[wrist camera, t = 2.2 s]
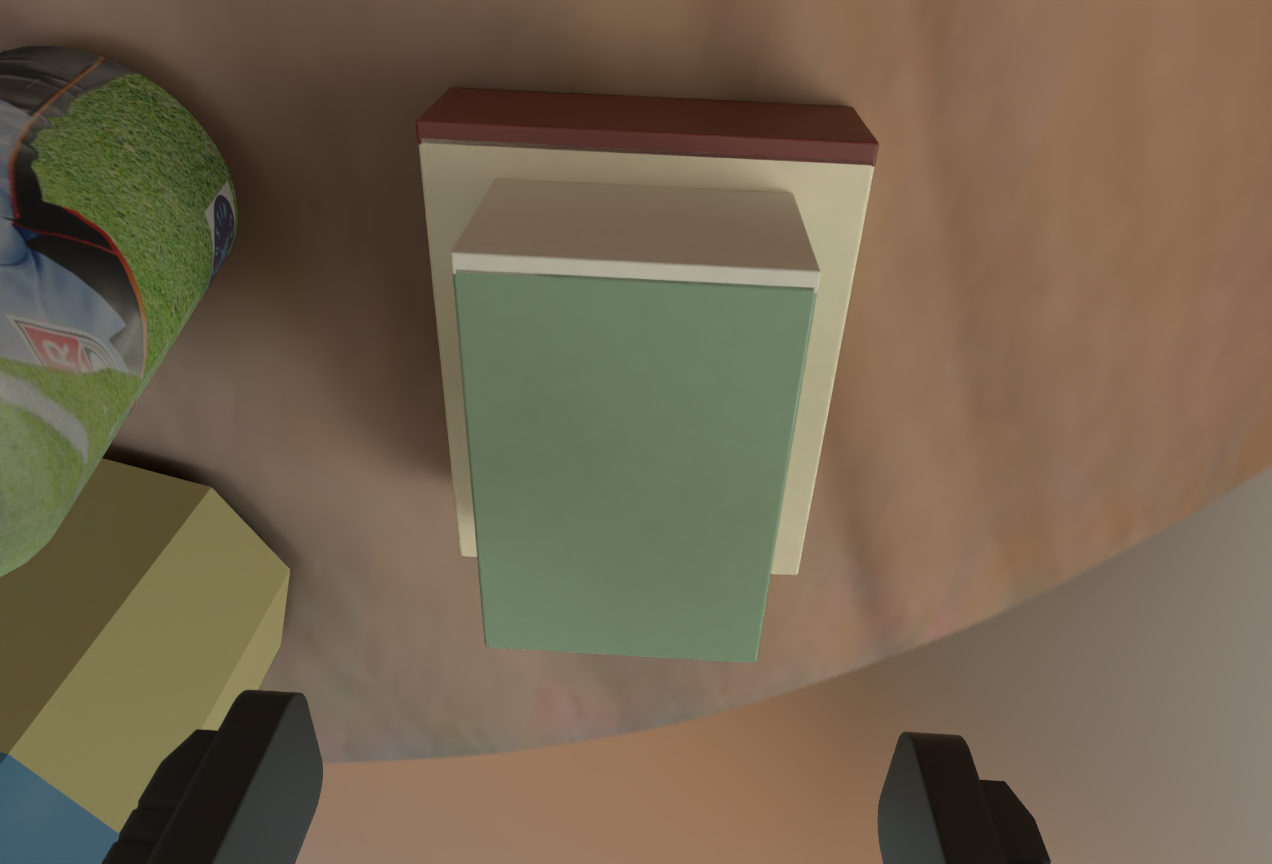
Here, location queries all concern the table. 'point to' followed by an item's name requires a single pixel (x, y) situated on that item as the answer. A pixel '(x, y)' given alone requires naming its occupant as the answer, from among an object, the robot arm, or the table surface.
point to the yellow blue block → (123, 653)
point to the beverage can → (91, 266)
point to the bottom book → (661, 157)
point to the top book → (630, 410)
